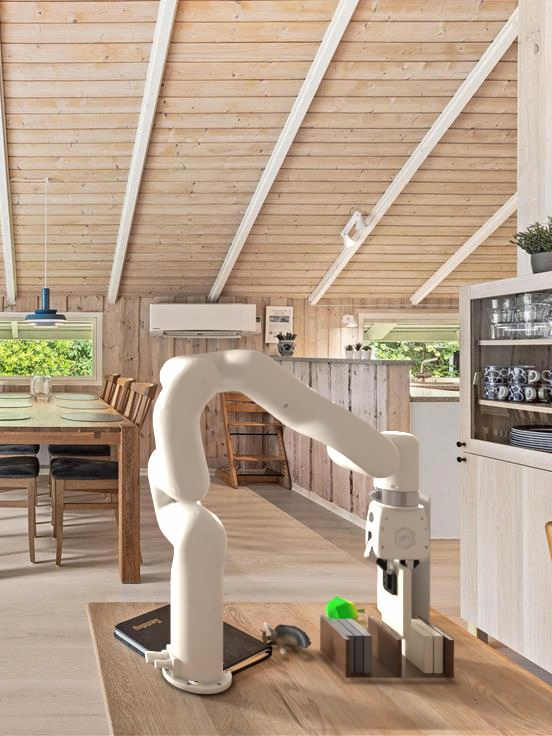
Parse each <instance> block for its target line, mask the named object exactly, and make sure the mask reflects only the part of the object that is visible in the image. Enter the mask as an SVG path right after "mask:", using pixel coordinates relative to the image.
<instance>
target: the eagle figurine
mask: <svg viewBox="0 0 552 736" xmlns="http://www.w3.org/2000/svg"><path fill="white" fill-rule="evenodd" d="M263 625H264V628H265V629H266V630H263V629H261V628H260V629H259V631H260V632H261V636H260V639H261V641H262V644H263V643H264V644H266V645H269V647H272V646H276V647H277V650H278V651H279V652H280V654H282V655H284V656H285V655H287V651H286V648H289V649H291V650H293V651H294V652H296V653H298V654H299V655H300V654H303V653H304V652H305V651H304V649H308V648H309V647H311V645H312V641H311V639H310V637H309V635H308V634H307V633H306V632H305V631H304V630H303V629H301V628H299V627H297V626H296V625H289V624H281V623H280V624H278V625H277V626H275V627H274V629H273V628H272V627H271V626H270V624H269V623H268V622H263ZM267 632H268V633H269V634H270V635H267Z"/></svg>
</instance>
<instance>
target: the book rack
mask: <svg viewBox="0 0 552 736" xmlns="http://www.w3.org/2000/svg"><path fill="white" fill-rule="evenodd" d="M416 619H420V620H421V621H423V622H424V623H425V624H427V625H428V626H430V627H431V628H432V629H434V630H435V631H437V632H438V633H439V634H441V635H442V636H443V673H434V672H433V673H424V672H422V671H421V670H420V669H419V668H418V667H417V666H415V665H414V664H413V663H412V662H411V661H409V660H408V659H407V658H406V657H405V656H404V655H402V638H401V637H399V636H398V635H397V634H396V633H394V632H393V631H392V630H391V629H389V628H388V627H387V626H386V625H384V624H383V623H382V622H380V621H379V620H378V619H377V618H376V617H374V616H373V615H368V616H367V632H368V633H370V634H371V635H372V673H364V672H363V673H355V672H354V673H350V639H349V638H348V637H347V636H346V635H344V634H343V633H342V632H341V631H340V630H339V629H338V628H337V627H336V626H335V625H334V624H333V623H332V622H331V621H330V620H328V617H326V615H324V614H323V615H320V616H319V651H320V652H321V653H322V654H323V656H324V657H326V658H327V660H328V661H329V662H330V663H332V665H333V666H334V667H335V668H336V669H337V671H339V672H340V673H341V674H342V675H343V677H344V678H346V679H347V678H349V679H351V678H352V679H353V678H354V679H356V678H357V679H362V678H363V679H373V678H374V679H454V678H455V640H454V639H453V638H452V637H451V636H449V635H448V634H446V633H445V632H443V631H442V630H441V629H440V628H438V627H437V626H436V625H434V624H432V623H431V622H430V623H429V622H428V621H426V620H425V619H424V618H422V617H421V616H416Z"/></svg>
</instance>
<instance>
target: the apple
mask: <svg viewBox="0 0 552 736" xmlns="http://www.w3.org/2000/svg"><path fill="white" fill-rule="evenodd" d="M365 612H366V610H365V608H360V609H357V606H356V604H355V603H354V602H352V601H350V600H348V599H345V598H343V597H340V596H338V595H337V596H335V597H333V598H332V599H331V600H329V601H328V602H327V603H326V606H325V613H326V615H327V619H336V620H337V619H353V620H355V621H356V622H357V620H358V619H359V617H360V615H359V613H361V616H362V617H363V619H364V621H365V622H366V624H368V621H367V620H366V618H365V617H364V615H362V614H365Z"/></svg>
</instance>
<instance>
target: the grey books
mask: <svg viewBox="0 0 552 736" xmlns="http://www.w3.org/2000/svg"><path fill="white" fill-rule="evenodd" d="M327 619H328V618H327ZM328 620H330V621H331V622H332V623H333V624H334V625H335V626H336V627H337V628H338V629H339V630H340V631H341V632H342V633H343V634H344V635H346V636H347V637H348V638H349V639H350V673H354V672H355V673H363V672H364V673H372V635H371V634H370V633H368V630H366V629H365V628H364V627H363V626H361V624H359V623H358V622H357V621H355V620H353V619H337V620H336V619H328Z"/></svg>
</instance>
